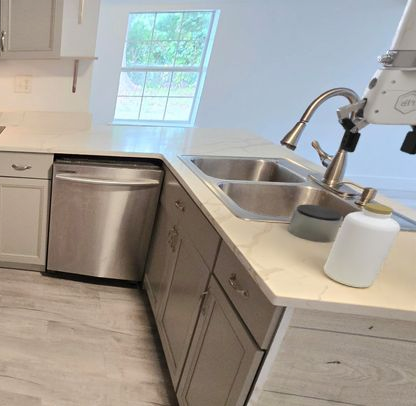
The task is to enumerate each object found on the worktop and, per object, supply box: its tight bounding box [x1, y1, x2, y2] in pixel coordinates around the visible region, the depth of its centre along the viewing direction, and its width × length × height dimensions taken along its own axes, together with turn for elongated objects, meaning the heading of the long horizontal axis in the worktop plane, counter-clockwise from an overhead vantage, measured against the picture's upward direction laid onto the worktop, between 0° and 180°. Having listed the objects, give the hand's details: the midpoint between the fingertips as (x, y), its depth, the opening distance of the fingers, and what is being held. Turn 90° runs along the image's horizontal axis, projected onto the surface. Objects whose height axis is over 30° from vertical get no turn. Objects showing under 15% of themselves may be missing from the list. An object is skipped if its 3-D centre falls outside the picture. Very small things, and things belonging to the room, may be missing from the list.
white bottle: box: [323, 202, 401, 288], centre depth 80 cm, size 8×8×18 cm
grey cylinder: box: [287, 204, 344, 243], centre depth 101 cm, size 10×10×7 cm
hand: (376, 151), depth 73 cm, fingers open, 9 cm apart
